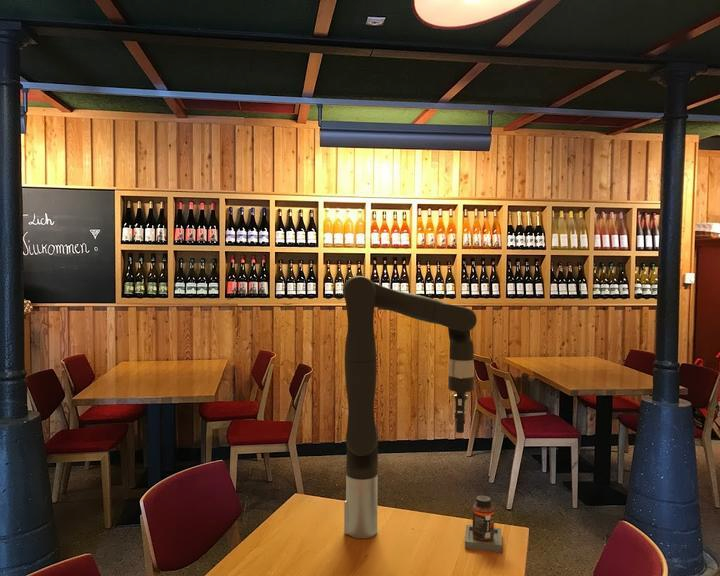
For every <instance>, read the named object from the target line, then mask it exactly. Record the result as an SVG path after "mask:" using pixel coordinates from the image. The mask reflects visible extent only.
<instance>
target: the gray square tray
mask: <svg viewBox="0 0 720 576" xmlns="http://www.w3.org/2000/svg"><path fill="white" fill-rule="evenodd" d="M472 528H473V524H465V534H464V549H470V550H478V551H485V552H492V551H495V552H494V553H501V552H502V553H503V540H502V528H500V527H494V537H493V539H492V540H490V541H479V540H477V539H475V538H474V537H473V533H472ZM496 551H497V552H496Z"/></svg>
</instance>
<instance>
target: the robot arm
mask: <svg viewBox="0 0 720 576" xmlns="http://www.w3.org/2000/svg"><path fill="white" fill-rule="evenodd" d="M342 295H343V299H344V301H345V307H346V315H347V316H346V317H347V333H346V339H345V344H344V345H345V347H344V377H345V379H344V380H345V390H346V397H347V409H348V410H347V413H348V414H347V426H346V432H345V442H346V460H345V461H346V463H345V464H346V467H345V468H346V469H345V476H346V477H345V478H346V479H345V481H346V483H345V486H346V487H345V498H346V499H345V501H344V503H343V506H344V507H343V513H344V517H343V518H344V519H343V529H344V531H343V534H344V533H345V534H344V535H347V534H348V535H347V536H349V535H350V537H351V536H352V538H354V539H368V538H369V539H370V538H372V537H374V536H376V534H377V533H378V477H379V476H378V471H379V470H378V467H379V465H378V463H379V457H378V456H379V455H378V454H379V451H378V449H379V446H378V445H379V443H378V442H379V438H378V437H379V433H378V432H379V431H378V427H377V425H376V421H375V420H376V419H375V397H376V390H377V389H376V388H377V369H378V367H377V366H378V365H377V360H378V359H377V348H376V338H375V337H376V336H375V331H374V330H375V329H374V319H375V318H374V315H375V308H377V309H384V310H387V311H391V312H393V313H394V312H395V313H397V314H401V315H403V316H406V317H408V318H412V319H415V320H418V321H421V322H426V323H428V324H429V323H431V324H436V325H441V326H443V327H446V328H447V330H448V331H447V332H448V339H449V352H448V353H449V357H448V358H449V361H448V368H447V371H448V373H447V374H448V379H447V382H448V383H447V385H448V386H447V387H448V390H450V391H452V392H455V393H456V394H454V396H453V403H454V405H453V406H454V407H453V408H454V409H453V411H454V413H455V416H454V418H455V427H456V428H455V432H456V433H457V434H458V433H460V434H464V433H465V423H466V413H467V407H468V402H469V401H468V400H469V395H467V393H470V392H473V391H474V389H475V362H474V358H475V357H474V356H475V355H474V351H475V350H474V342H473V340H472V338H471V330H473V329H474V328H475V326H476V325H477V323H478V322H477V321H478V320H477V319H478V318H477V315H476V313H475V312H474V311H473V309H472V308H468V307H466V306H460V305H455V304H450V303H445V302H443V301H440V300H438V299H435V298H432V297H427V296H424V295H420V294H414V293H410V292H405V291H402V290H401V291H400V290H397V289H392V288H389V287H386V286H383V285H380V284H378V283H376V282H373V281H372V280H371V279H370V278H369V277H366V276H365V275H364V276H363V275H355V276H351V277H350V278H348V279H347V280H346V281H345V283H344V284H343V287H342Z"/></svg>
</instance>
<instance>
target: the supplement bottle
mask: <svg viewBox="0 0 720 576" xmlns="http://www.w3.org/2000/svg"><path fill="white" fill-rule="evenodd" d="M491 500H492V499H491V497H490V496H487V495H478V496H477V497H476V501H475V503H474V504H473V505H472V525H473V528H472V533H473V537H474V538H475V539H477V540H479V541H490V540H492V539H493V537H494V528H495V507H494V506H493V505H492V501H491Z"/></svg>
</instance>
